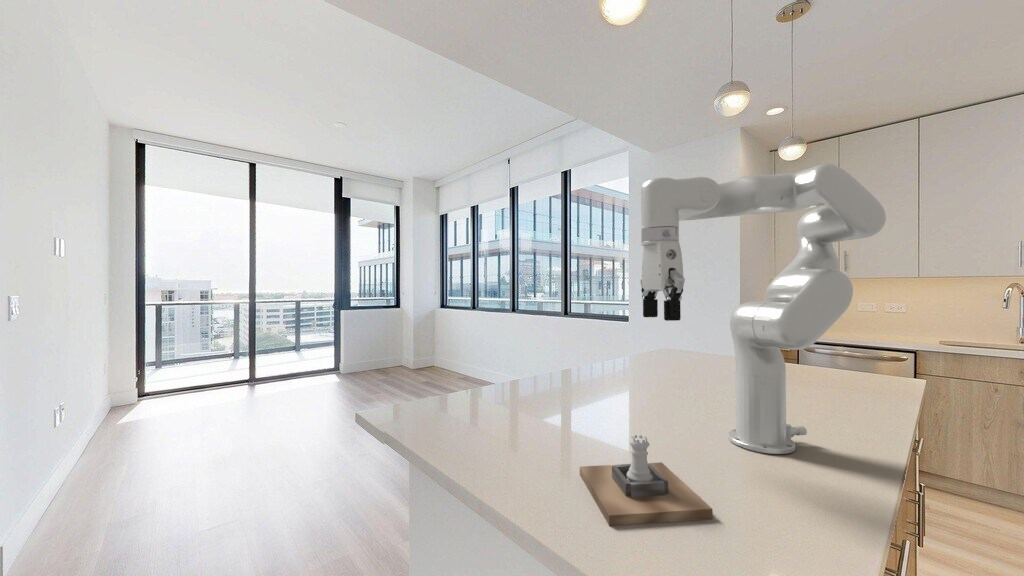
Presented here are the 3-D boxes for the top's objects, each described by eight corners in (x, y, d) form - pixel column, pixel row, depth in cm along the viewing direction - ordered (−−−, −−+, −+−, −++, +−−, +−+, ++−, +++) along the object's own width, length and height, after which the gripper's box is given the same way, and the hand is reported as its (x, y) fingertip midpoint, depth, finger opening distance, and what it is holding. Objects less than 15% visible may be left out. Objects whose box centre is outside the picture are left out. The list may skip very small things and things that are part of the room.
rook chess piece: (621, 479, 68) (621, 433, 68) (646, 478, 69) (646, 432, 69) (632, 492, 64) (631, 443, 64) (658, 491, 64) (658, 442, 64)
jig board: (661, 470, 75) (661, 451, 75) (712, 518, 59) (712, 495, 59) (579, 474, 73) (579, 455, 73) (609, 525, 57) (608, 501, 57)
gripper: (700, 232, 75) (700, 321, 75) (657, 243, 92) (658, 315, 92) (662, 232, 74) (663, 322, 74) (627, 243, 92) (627, 316, 92)
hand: (660, 318), depth 83 cm, fingers open, 9 cm apart
